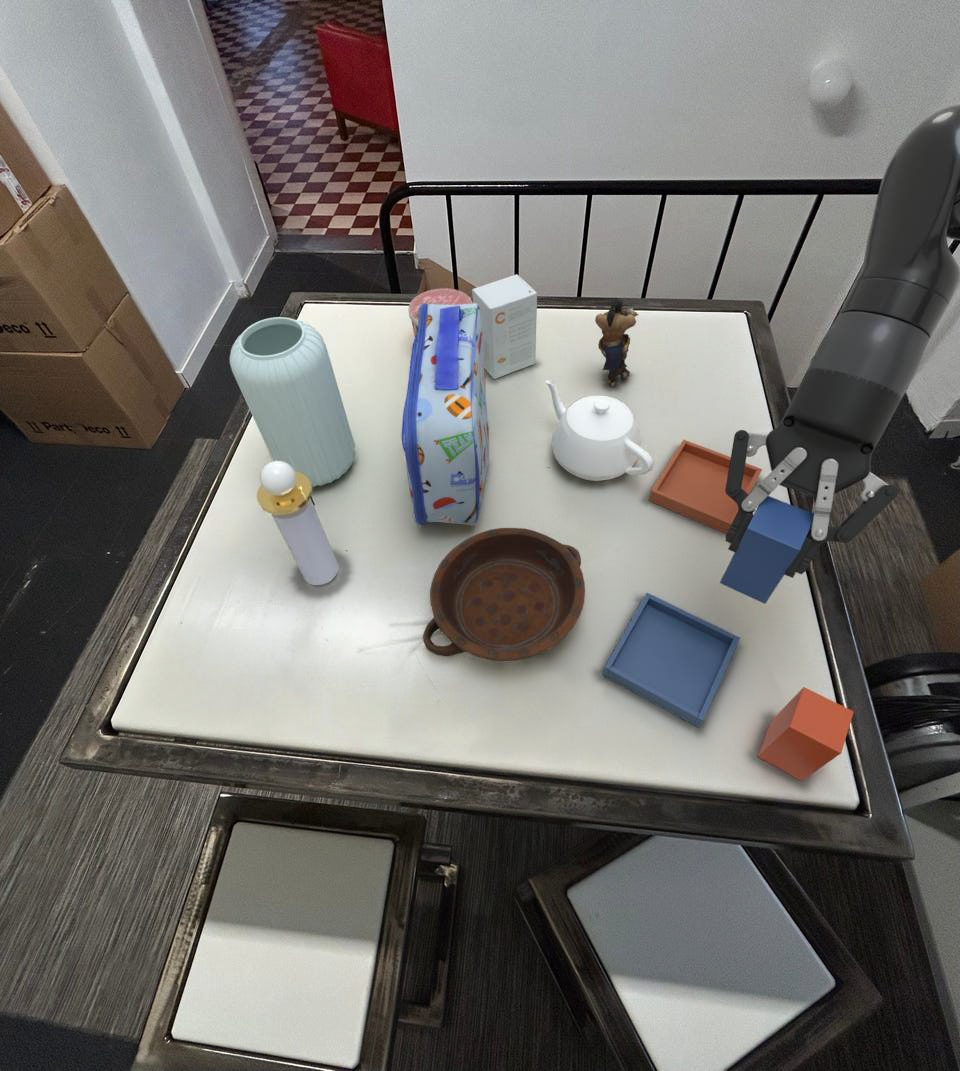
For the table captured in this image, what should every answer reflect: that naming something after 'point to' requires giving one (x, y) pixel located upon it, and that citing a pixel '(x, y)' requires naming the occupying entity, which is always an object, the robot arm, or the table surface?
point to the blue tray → (672, 658)
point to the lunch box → (446, 415)
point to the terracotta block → (806, 734)
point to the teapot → (597, 438)
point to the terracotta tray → (700, 486)
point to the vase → (294, 397)
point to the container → (436, 301)
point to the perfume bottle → (297, 520)
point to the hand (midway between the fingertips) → (760, 561)
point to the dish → (505, 595)
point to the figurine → (615, 339)
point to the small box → (507, 324)
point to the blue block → (767, 548)
